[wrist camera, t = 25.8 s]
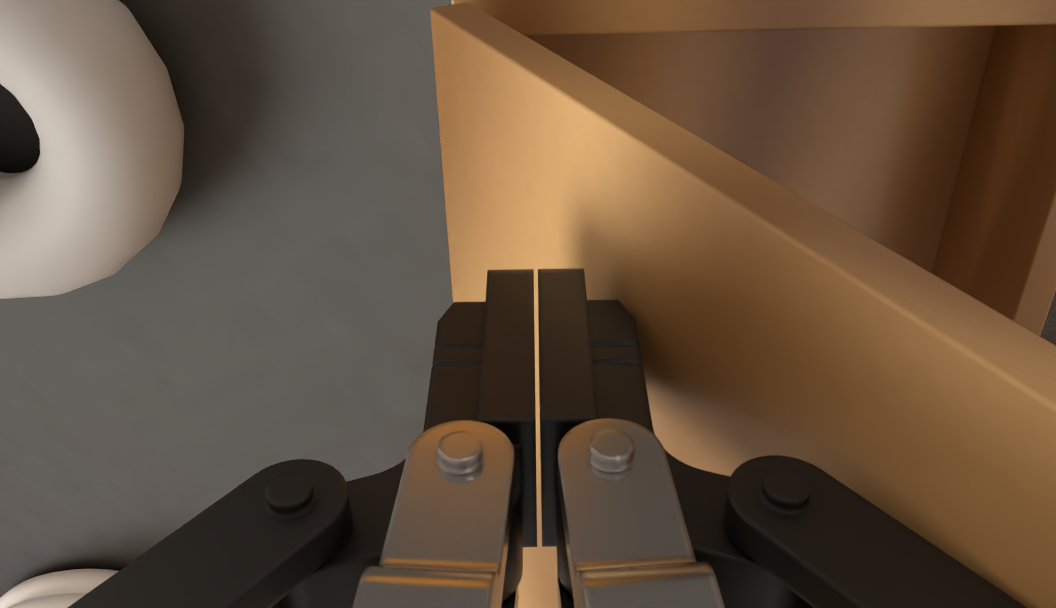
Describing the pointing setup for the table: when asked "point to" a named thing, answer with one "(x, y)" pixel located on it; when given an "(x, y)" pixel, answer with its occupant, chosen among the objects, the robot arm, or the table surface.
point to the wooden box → (857, 114)
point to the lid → (748, 309)
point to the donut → (84, 144)
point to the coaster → (55, 589)
